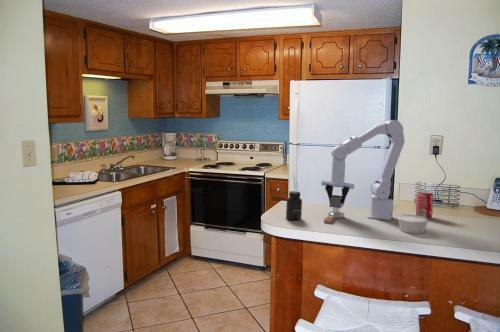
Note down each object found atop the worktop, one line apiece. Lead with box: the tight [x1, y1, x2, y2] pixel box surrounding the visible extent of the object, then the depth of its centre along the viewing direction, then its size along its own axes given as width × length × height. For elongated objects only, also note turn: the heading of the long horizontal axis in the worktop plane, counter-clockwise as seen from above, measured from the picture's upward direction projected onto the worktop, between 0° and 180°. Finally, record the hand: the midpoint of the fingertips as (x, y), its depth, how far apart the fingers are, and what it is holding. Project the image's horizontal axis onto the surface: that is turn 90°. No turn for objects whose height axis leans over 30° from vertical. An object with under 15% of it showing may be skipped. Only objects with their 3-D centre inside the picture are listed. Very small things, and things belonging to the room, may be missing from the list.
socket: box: [329, 194, 345, 209], centre depth 187 cm, size 5×5×4 cm
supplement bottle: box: [285, 190, 303, 222], centre depth 182 cm, size 7×7×12 cm
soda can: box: [415, 190, 435, 220], centre depth 189 cm, size 7×7×12 cm
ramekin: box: [397, 214, 429, 235], centre depth 168 cm, size 11×11×5 cm
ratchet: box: [323, 207, 345, 225], centre depth 184 cm, size 16×7×4 cm, turn 152°
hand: (336, 202), depth 188 cm, fingers closed on socket, 5 cm apart
